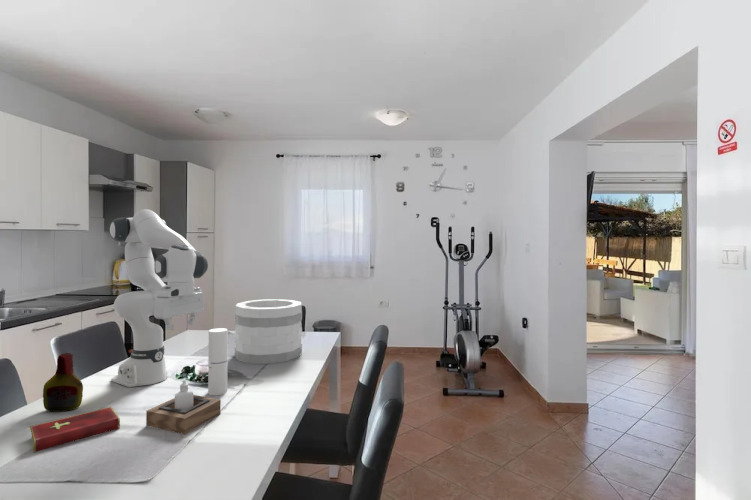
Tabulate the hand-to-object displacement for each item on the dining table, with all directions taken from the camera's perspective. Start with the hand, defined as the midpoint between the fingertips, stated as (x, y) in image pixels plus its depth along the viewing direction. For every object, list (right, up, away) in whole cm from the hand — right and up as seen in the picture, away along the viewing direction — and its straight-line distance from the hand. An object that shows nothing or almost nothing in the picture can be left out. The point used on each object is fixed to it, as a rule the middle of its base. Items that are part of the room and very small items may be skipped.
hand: (180, 327), depth 144 cm
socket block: (+6, -29, -10) cm, 32 cm away
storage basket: (+14, -28, +69) cm, 76 cm away
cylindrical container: (+8, -29, +15) cm, 34 cm away
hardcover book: (-23, -30, -21) cm, 43 cm away
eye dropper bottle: (+6, -28, -11) cm, 31 cm away
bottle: (-40, -29, -4) cm, 50 cm away
